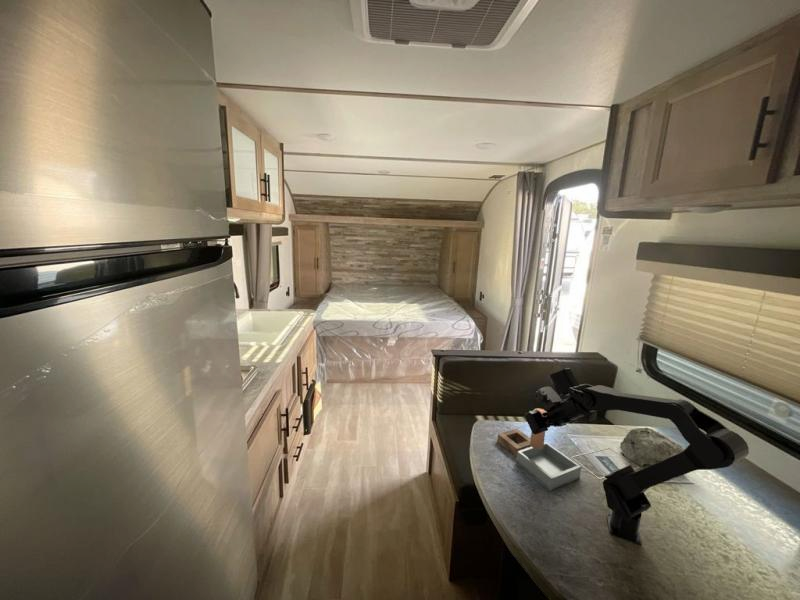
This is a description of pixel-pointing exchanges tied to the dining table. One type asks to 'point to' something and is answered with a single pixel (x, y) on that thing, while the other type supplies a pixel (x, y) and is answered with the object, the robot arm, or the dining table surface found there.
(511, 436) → the socket block
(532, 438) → the dowel
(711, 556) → the dining table surface
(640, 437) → the stone
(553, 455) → the tray
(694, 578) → the dining table surface
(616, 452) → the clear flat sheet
